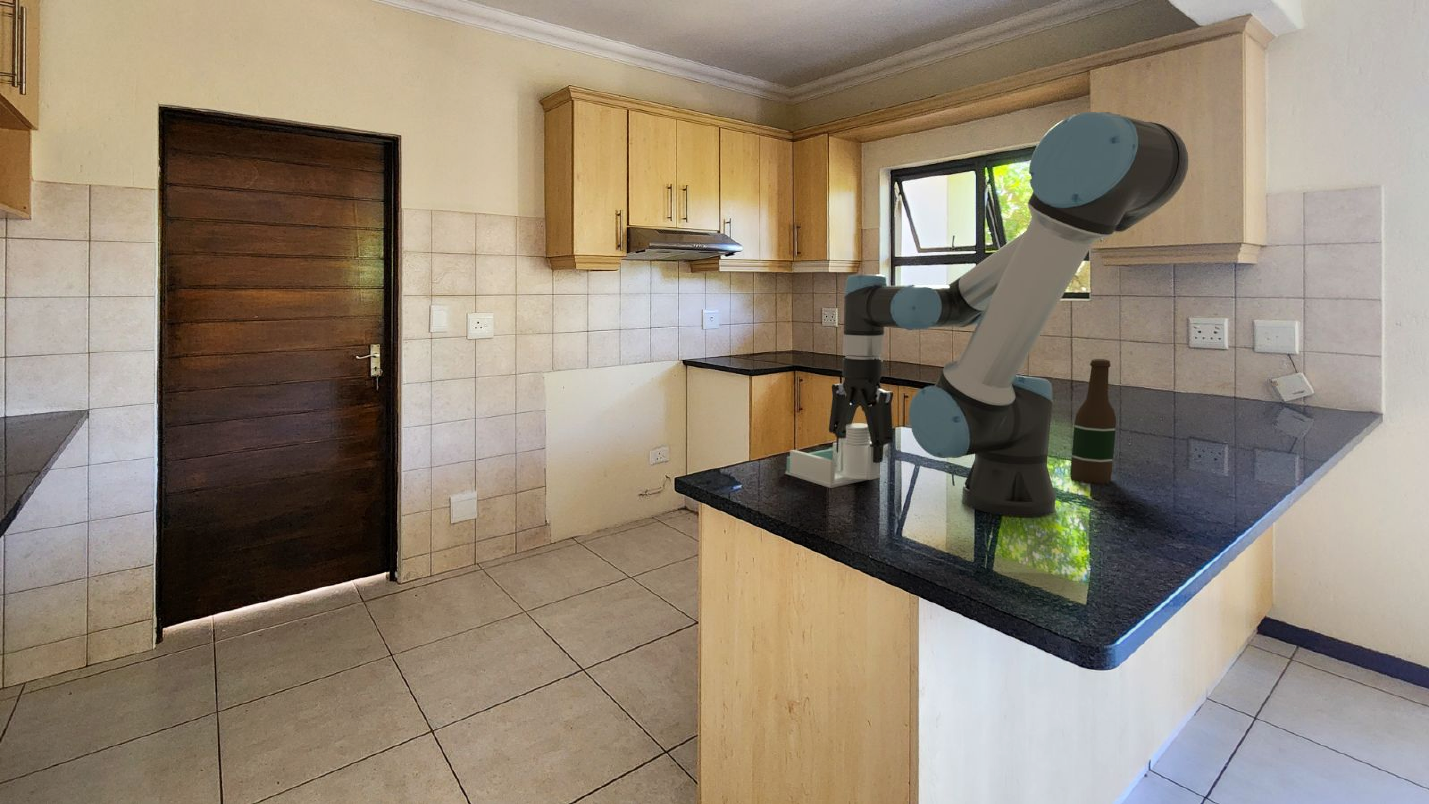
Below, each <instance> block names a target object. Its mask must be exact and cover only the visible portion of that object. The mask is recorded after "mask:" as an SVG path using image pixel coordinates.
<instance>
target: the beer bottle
mask: <svg viewBox="0 0 1429 804" xmlns="http://www.w3.org/2000/svg"><path fill="white" fill-rule="evenodd" d="M1089 365H1090V375H1089V379H1088V380H1089V382H1088V386H1087V387H1088V388H1087V393H1086V397H1085V399H1084V401H1083V402H1081V404H1080V405H1079V407H1078V409H1077V411H1076V414H1075V417H1074V418H1075V419H1074V425H1073V433H1072V434H1073V436H1072V446H1071V448H1072V449H1071V458H1070V459H1071V460H1070V476H1069V477H1070V479H1071V480H1074V481H1078V482H1080V483H1083V484H1084V483H1085V484H1096V485H1103V484H1110V482H1111V479H1112V473H1113V464H1114V463H1113V462H1114V452H1115V440H1116V430H1117V429H1116V428H1117V417H1116V413H1115V409H1114V407H1113V406H1112V404H1111V402H1110V401H1109V399H1110V398H1109V374H1110V373H1109V371H1110V370H1109V369H1110V367H1112V366H1111V362H1110V360H1109V359H1104V358H1103V359H1101V358H1093V359H1091V361H1090V363H1089Z"/></svg>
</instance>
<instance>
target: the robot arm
mask: <svg viewBox="0 0 1429 804" xmlns="http://www.w3.org/2000/svg"><path fill="white" fill-rule="evenodd" d="M1030 159H1031V160H1030V163H1029V167H1028V173H1029V175H1030V177H1031V178H1030V179H1029V184H1030V188H1031V189H1032V193H1031V196H1030V197H1029V199H1028V202H1027V207H1028V209H1029V212H1030V215H1031V220H1030V222H1029V224H1028V225H1027V227H1026V229H1025V230H1024V231H1022V232H1021V233H1020V234H1018V235H1017V236H1016V237H1014V238H1013V239H1012V240H1010V241H1008V242H1007V243H1006V244H1004V245H1003V246H1002V247H1000V248H999V249H998V250H996V251H994V252H993V253H992V254H991V255H989V256H988V257H986V258H985V259H983V260H982V261H981V262H979V263H978V264H975V266H973V267H972V268H971V269H969V270H968V271H966V272H965V273H963V274H962V275H961V276H960V277H958V278H956V279H955V280H953V282H950V283H949V284H947V285H922V284H917V285H916V284H910V285H909V284H908V285H887V278H886V276H885V275H883V274H851V275H849V276H848V277H847V278H846V280H845V289H844V296H843V299H844V309H843V340H842V354H843V356H845V357H844V358H843V359H842V368H841V370H842V371H841V375H842V377H844V380H843V382H842V383H837V384H836V383H835V384H834V383H833V384H832V385H831V391H832V392H831V393H832V398H831V399H832V400H831V401H832V402H831V405H830V406H831V409H830V416H829V424H828V432H829V433H830V434H834V435H835V438H836V443H837V444H836V451H837V453H838V459H839V456H840V453H841V450H842V453H841V456H840V459H839V462H838V471H843V449H842V446H843V442H844V441H846V425H847V424H853V420H854V419H855V415H856V412H857V409H858V408H859V407H861V410H862V412H863V413H864V416H865V420H866V424H867V425H868V430H869V434H870V441H871V442H872V444H869V446H868V462H867V479H868V480H869V481H871V480H875V479H879V478H880V477H881V473H880V471H881V463H882V462H883V460H884V446H885V445H889V444H893V441H894V434H893V433H894V432H893V413H892V402H893V398H894V392H893V391H891V390H888V391H887V390H885V389H882V386H881V383H880V380H881V378H882V377H883V365H884V363H883V362H884V361H883V359H882V358H880V357H881V356H883V355H884V340H885V339H884V337H885V336H884V335H885V328H893V329H905V330H906V331H912V330H915V331H920V330H927V329H930V328H952V327H953V328H966V327H969V326H976V327H975V328H974V330H973V333H972V334H971V337H970V338H969V340H968V342H967V344H966V346H965V348H964V350H963V352H962V353H961V355H960V358H959V359H957V360H953V361H950V362H947V363H946V364H945V366H944V367H943V369H942V371H941V373H940V375H939V377H938V379H937V381H936V383H935V384H934V385H928V386H925V387H924V388H921V389H919V390H918V391H917V392H916V393H915V394H914V395H913V397H912V399H911V401H910V403H909V408H908V421H909V424H910V426H911V427H910V428H911V432H912V435H913V438H914V439H915V441H916V443H917V444H918V445H919V446H920V448H922V450H923V451H925V453H928V454H929V455H931V456H932V457H935V458H937V459H940V458H941V459H950V458H952V459H959V458H961V457H966V456H972V455H974V456H975V457H974V460H973V463H972V465H971V467H970V470H969V472H968V475H967V476H966V479H965V481H964V484H963V485H962V486H963V487H962V492H961V493H962V494H961V501H962V502H963V504H964V505H966V506H968V507H969V508H972V509H974V510H978V511H979V512H980V511H981V512H984V513H989V514H993V515H999V516H1006V517H1015V518H1016V517H1017V518H1036V517H1043V516H1047V515H1050V514H1052V513H1054V512H1055V510H1056V493H1055V490H1054V486H1053V483H1052V479H1051V475H1050V472H1049V468H1048V456H1049V455H1048V453H1049V445H1050V430H1051V417H1052V410H1053V409H1052V407H1053V405H1054V400H1053V386H1052V383H1051V382H1050V381H1049V380H1048V379H1047V378H1041V377H1034V376H1033V377H1032V376H1026V375H1025V376H1023V375H1018V373H1020V370H1021V368H1022V366H1023V364H1025V362H1026V361H1027V358H1028V357H1029V354H1030V353H1031V351H1032V349H1033V348H1034V346H1035V344H1036V342H1037V341H1038V339H1039V337H1040V335H1041V334H1042V332H1043V330H1044V329H1045V327H1046V325H1047V323H1048V322H1049V320H1050V319H1051V316H1052V315H1053V313H1054V312H1055V310H1056V308H1057V306H1058V304H1059V303H1060V301H1061V299H1062V298H1063V296H1064V294H1065V292H1066V291H1067V289H1068V287H1069V285H1070V283H1072V280H1073V278H1074V277H1075V275H1076V274H1077V272H1078V271H1079V268H1080V266H1081V264H1082V263H1083V261H1084V260H1085V258H1086V257H1087V254H1088V253H1089V251H1090V250H1091V247H1092V246H1093V244H1094V243H1096V242H1097V241H1098V242H1099V241H1101V240H1103V239H1106V238H1109V237H1111V236H1112V235H1113V234H1114V233H1117V234H1121V233H1124V232H1125V231H1127V230H1128V229H1129V228H1132V227H1133V226H1135V225H1136V224H1138V223H1140V222H1141V221H1143V220H1144V219H1146V218H1147V217H1149V216H1150V215H1152V214H1153V213H1155V212H1157V211H1158V210H1160V209H1161V208H1162V207H1164V205H1166V204H1167V203H1168V202H1169V201H1171V199H1173V197H1175V195H1176V194H1177V192H1178V191H1179V190H1180V189H1181V187H1182V186H1183V183H1184V181H1185V179H1186V176H1187V173H1188V169H1189V153H1188V150H1187V147H1186V144H1185V142H1184V140H1183V139H1182V137H1181V136H1180V135H1179V134H1178V133H1177V132H1176V131H1175V130H1173V129H1171V128H1170V127H1168V126H1167V125H1164V124H1161V123H1157V122H1153V121H1152V122H1151V121H1145V120H1141V119H1138V118H1137V119H1136V118H1132V117H1129V116H1123V115H1121V114H1117V113H1112V112H1110V111H1106V112H1105V111H1104V112H1096V111H1087V112H1080V113H1077V114H1073V115H1071V116H1069V117H1067V118H1065V119H1062V120H1060V122H1058V123H1057V124H1055V125H1054V126H1052V127H1051V128H1050V129H1049V130H1048V131H1047V132H1046V133H1045V135H1043V137H1042V138H1041V139H1040V141H1039V142H1038V144H1037V145H1036V147H1035V149H1034V151H1033V153H1032V156H1031V158H1030ZM879 476H880V477H879ZM868 480H867V481H868Z"/></svg>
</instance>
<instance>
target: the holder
mask: <svg viewBox="0 0 1429 804" xmlns="http://www.w3.org/2000/svg"><path fill="white" fill-rule="evenodd" d="M836 444H837V442H833V443H832V448H828V449H822V450H817V451H812V452H804V451H801V450H796V449H792V450H791V449H790V450H789V456H786V470H785V472H784V473H785V475H789V476H791V477H794V478H799V479H801V480H805V481H808V482H810V483H814V484H817V485H821V486H823V487H826V488H829V489H832V488H837V487H842V486H846V485H850V484H854V483H859V482H860V483H861V482H863V481H868V479H851V478H846V477H843V476H841V475H840V472H842V471H838V464H837V462H838V453H837V451H836ZM880 477H881V475H880V476H879V478H880Z"/></svg>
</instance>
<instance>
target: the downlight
mask: <svg viewBox="0 0 1429 804" xmlns="http://www.w3.org/2000/svg"><path fill="white" fill-rule="evenodd" d="M869 444H872V442H871V438H870V434H869V430H868V425H867V423H863V422H861V423H859V422H857V423H855V422H854V423H853V422H852V424H847V425H846V441H844V442H843V446H842V449H843V471H842V472H840V475H841V476H843V477H846V478H851V479H867V462H868V446H869ZM841 453H842V450H841ZM841 453H840V456H841ZM840 456H839V459H840ZM839 459H838V462H839ZM838 462H837V464H838Z"/></svg>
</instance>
